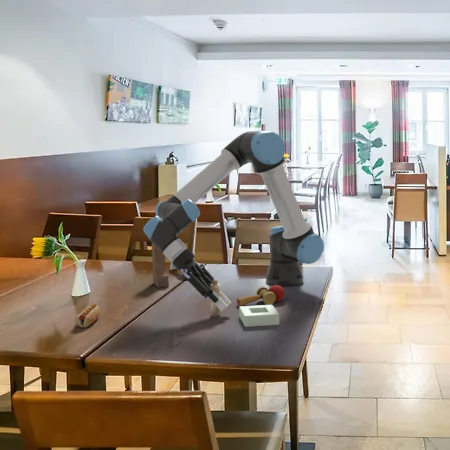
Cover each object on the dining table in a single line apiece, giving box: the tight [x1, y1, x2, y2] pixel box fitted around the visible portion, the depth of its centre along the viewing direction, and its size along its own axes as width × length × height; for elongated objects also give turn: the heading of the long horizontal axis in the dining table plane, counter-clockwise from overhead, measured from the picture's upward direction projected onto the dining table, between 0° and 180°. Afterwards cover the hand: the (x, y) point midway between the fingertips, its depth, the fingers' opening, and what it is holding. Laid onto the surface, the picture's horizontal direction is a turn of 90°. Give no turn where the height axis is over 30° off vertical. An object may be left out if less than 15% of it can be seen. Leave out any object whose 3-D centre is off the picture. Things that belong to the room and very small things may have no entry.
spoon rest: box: [169, 261, 209, 276], centre depth 269 cm, size 24×12×7 cm, turn 34°
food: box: [75, 303, 101, 329], centre depth 201 cm, size 14×6×5 cm, turn 175°
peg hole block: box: [238, 304, 280, 328], centre depth 202 cm, size 11×16×4 cm
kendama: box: [236, 285, 286, 307], centre depth 220 cm, size 8×6×18 cm
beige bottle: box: [210, 279, 222, 317], centre depth 206 cm, size 3×3×12 cm
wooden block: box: [151, 241, 170, 289], centre depth 249 cm, size 9×4×18 cm, turn 19°
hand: (226, 306), depth 205 cm, fingers closed on beige bottle, 3 cm apart
